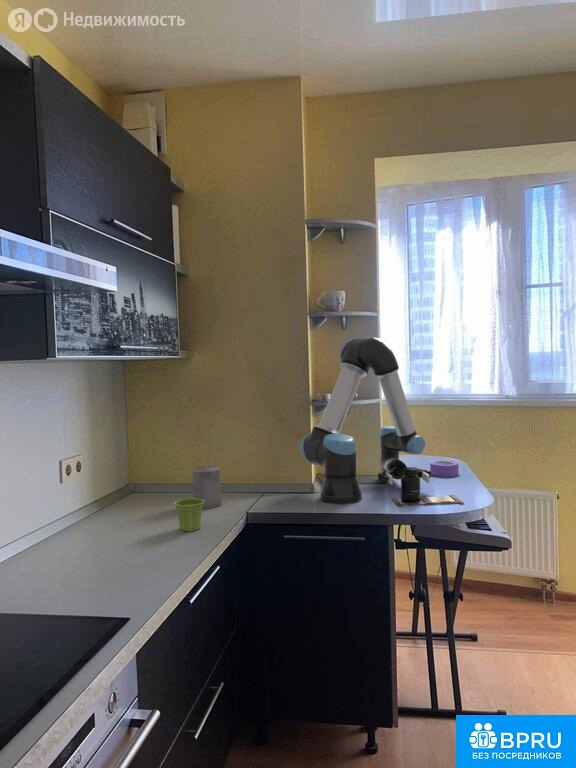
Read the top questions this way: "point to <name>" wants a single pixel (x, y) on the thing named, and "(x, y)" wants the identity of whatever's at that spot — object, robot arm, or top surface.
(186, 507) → the plant pot
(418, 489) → the supplement bottle
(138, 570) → the top surface
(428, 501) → the flat wooden frame
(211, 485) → the pillar candle
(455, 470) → the tape roll
